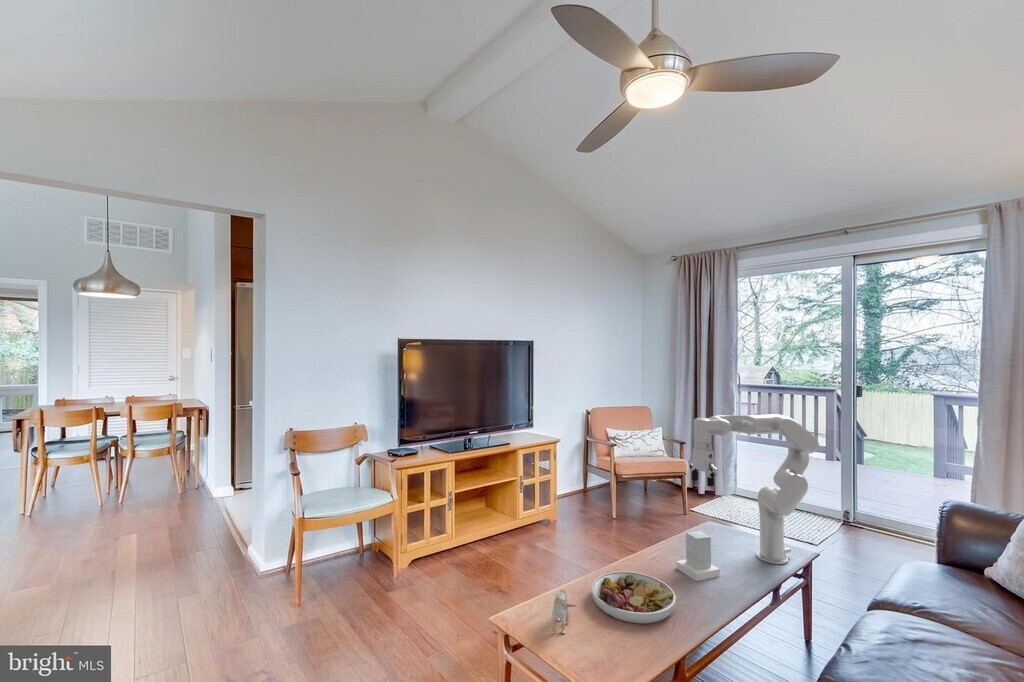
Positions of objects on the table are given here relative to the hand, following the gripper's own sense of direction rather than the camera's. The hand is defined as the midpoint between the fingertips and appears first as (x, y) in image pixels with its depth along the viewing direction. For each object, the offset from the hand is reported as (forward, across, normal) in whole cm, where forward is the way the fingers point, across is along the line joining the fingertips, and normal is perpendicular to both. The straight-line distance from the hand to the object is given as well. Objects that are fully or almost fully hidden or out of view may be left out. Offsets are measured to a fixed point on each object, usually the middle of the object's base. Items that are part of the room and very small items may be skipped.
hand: (702, 483), depth 211 cm
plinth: (+33, -11, +13) cm, 37 cm away
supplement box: (+31, -11, +12) cm, 35 cm away
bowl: (+34, -22, +53) cm, 67 cm away
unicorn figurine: (+34, -29, +83) cm, 94 cm away
